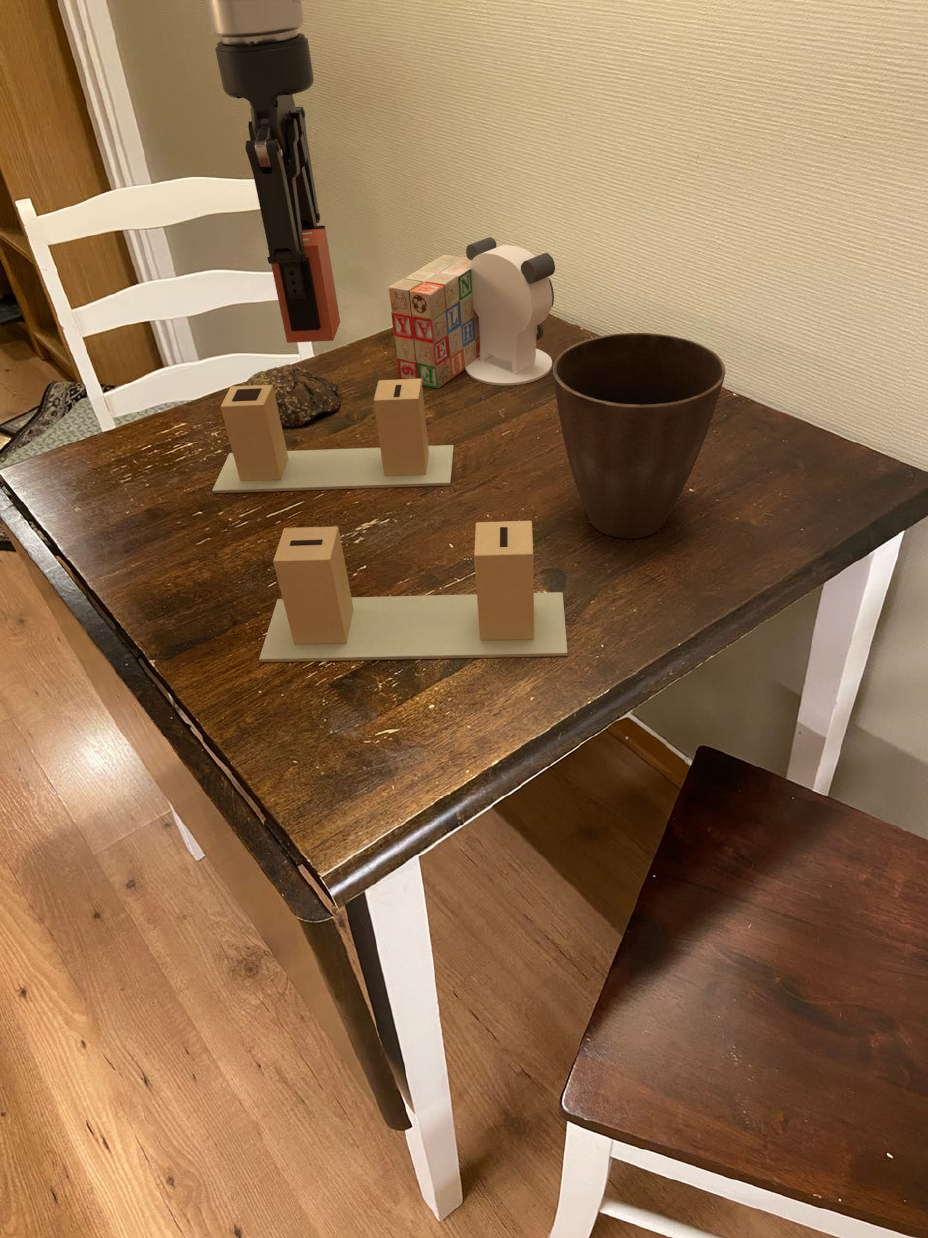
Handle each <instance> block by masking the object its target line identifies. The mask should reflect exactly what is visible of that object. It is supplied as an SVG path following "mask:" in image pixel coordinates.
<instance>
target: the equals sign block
mask: <svg viewBox="0 0 928 1238" xmlns="http://www.w3.org/2000/svg"><path fill="white" fill-rule="evenodd" d="M327 235H328V234H327V230H326V228H325V229H315V230H302V236H303V244H304V252H305V254H306V258H309V262H310V267H311V273H312V279H313V285H314V290H315V296H316V302H317V308H318V313H319V319H320V325H321V328H320V330H308V331H292V330H291V325H290V320H289V315H288V310H287V304H286V299H285V294H284V289H283V284H282V279H281V274H280V269H279V264H278V263H277V264H270V266H271V271H272V276H273V281H274V286H275V290H276V296H277V300H278V306H279V310H280V315H281V320H282V325H283V331H284V335H285V338H286V340H285V341H286V343H287V344H290V343H293V344H295V343H312V342H313V343H314V342H333V341H334V340H335V337H336V335H337V332H338V329H339V327H340V324H341V318H340V311H339V305H338V299H337V292H336V285H335V280H334V279H335V278H334V273H333V266H332V260H331V255H330V248H329V242H328V236H327ZM267 250H268V252H269V249H268V248H267Z"/></svg>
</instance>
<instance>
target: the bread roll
mask: <svg viewBox="0 0 928 1238" xmlns="http://www.w3.org/2000/svg"><path fill="white" fill-rule="evenodd" d="M256 385H273V388H274V393H275V398H276V402H277V407H278V412H279V416H280V421H281V425H282V427H287V428H297V427H300V426H302V425H304V424H306V423H308V422H310V421H311V420H313V419H314V418H315V417H317V416H318V415H321V414H324V413H329V414H330V413H333V412H335V411H338V410H339V408H340V405H341V403H340V399H339V397H338V396H337V395H338V394H339V393H340V392H339V384H338V383H337V382H333V381H332V380H330V379H328V378H326V377H323V376H321V375H320V374H318V373H313V372H312V371H309V370H308V369H306V368H302V367H299V366H298V365H295V366H294V365H292V364H290V363H287V364H283V365H281V366H278V367H277V366H276V367H272V368H269V369H267V370H260V371H258V372H255V373H254V374H252V375H251V376H250V377H249V378H247V380H246V381H242V384H239V386H256Z"/></svg>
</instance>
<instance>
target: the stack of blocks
mask: <svg viewBox="0 0 928 1238" xmlns="http://www.w3.org/2000/svg"><path fill="white" fill-rule="evenodd" d="M471 261H472V260H469V259H468V258H467V257H465V256H456V255H452V254H451V255H450V254H443V255H441V256H439V257H437V258H436V259H433V260H432V261H431V262H428V263H427V264H426V265H424V266H422V267H420V268H419V269H418V270H416V271H414V272H412V273H411V274H409V275H407V276H405V277H404V278H402V279H400V280H398V281H396V282H395V283H393V284H391V285H390V286H388V293H389V301H390V302H389V303H390V308H391V309H390V310H391V312H390V314H391V322H392V330H393V335H394V342H395V350H396V356H397V357H396V358H397V359H396V360H397V361H396V363H397V369H398V377H399V378H398V379H422V386H425V387H428V388H433V389H437V390H438V389H440V388H441V387H443V386H444V385H446V384H447V383H449V381H451V380H453V379H454V378H456V377H457V376H458V375H460V374H461V373H462V372H464V371H466V367H467V366H469V365H470V364H471V363H473V362H474V361H475V360H477V358H479V357H480V331H479V317H478V315H477V314H476V312H475V310H474V308H473V294H472V280H471V268H470V264H471Z"/></svg>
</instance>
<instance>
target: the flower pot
mask: <svg viewBox="0 0 928 1238" xmlns="http://www.w3.org/2000/svg"><path fill="white" fill-rule="evenodd" d="M726 372H727V371H726V365H725V363H724V362H723V360H722V358H721V357H720V356H719V355H718V354H717V353H716V352H714V351H713V350H712V349H710V348H708V347H706V346H705V345H703V344H700V343H698V342H695V341H693V340H689V339H686V338H682V337H678V336H674V335H669V334H662V333H653V332H622V333H612V334H606V335H599V336H596V337H592V338H587V339H585V340H582V341H580V342H577V343H574V344H573V345H570V346H569V347H567V348H566V349H564V350H563V351H561V353H560V354H559V355H558V356H557V357H556V359H555V360H554V362H553V364H552V374H553V384H554V391H555V397H556V404H557V411H558V417H559V423H560V429H561V433H562V438H563V442H564V447H565V452H566V455H567V459H568V462H569V466H570V469H571V474H572V476H573V479H574V483H575V485H576V489H577V491H578V494H579V498H580V499H581V502H582V505H583V508H584V510H585V513H586V515H587V518H588V520H589V522H590V524H591V525H592V526H593V527H594V528H595V529H596V530H597V531H598V532H600V533H602V534H604V535H606V536H610V537H612V538H613V537H614V538H617V539H626V540H627V539H640V538H645V537H648V536H651V535H652V534H654V533H656V532H658V531H659V530H660V529H661V528H662V527H663V526H664V524H665V523H666V521H667V519H668V517H669V516H670V514H671V512H672V511H673V509H674V507H675V505H676V503H677V501H678V499H679V498H680V496H681V494H682V492H683V490H684V488H685V486H686V485H687V482H688V480H689V477H690V476H691V474H692V472H693V469H694V467H695V464H696V463H697V459H698V458H699V455H700V452H701V450H702V448H703V445H704V442H705V440H706V437H707V435H708V431H709V429H710V425H711V423H712V419H713V417H714V414H715V410H716V407H717V404H718V400H719V397H720V394H721V390H722V388H723V383H724V380H725V377H726Z"/></svg>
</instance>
